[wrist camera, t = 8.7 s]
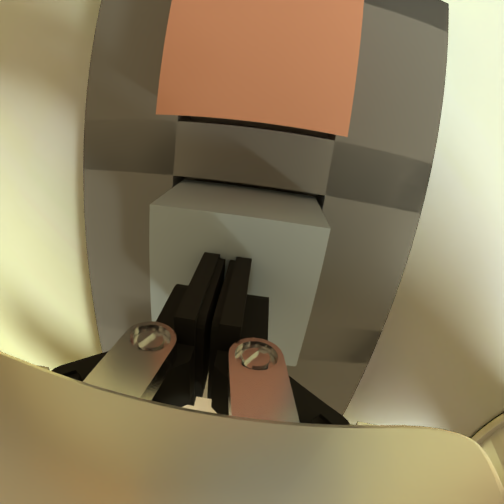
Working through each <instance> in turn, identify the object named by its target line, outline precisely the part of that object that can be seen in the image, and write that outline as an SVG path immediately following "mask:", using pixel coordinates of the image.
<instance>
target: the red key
mask: <svg viewBox="0 0 504 504" xmlns="http://www.w3.org/2000/svg"><path fill="white" fill-rule="evenodd" d="M363 7H364V0H172V2H171V8H170V13H169V19H168V24H167V30H166V36H165V43H164V49H163V56H162V63H161V71H160V79H159V87H158V97H157V106H156V114H159V115H182V116H198V117H212V118H223V119H233V120H243V121H252V122H260V123H268V124H275V125H282V126H289V127H295V128H301V129H307V130H313V131H319V132H324V133H329V134H335V135H340V136H345V137H348V131H349V125H350V118H351V111H352V105H353V98H354V90H355V83H356V75H357V67H358V58H359V49H360V40H361V30H362V19H363Z"/></svg>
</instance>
